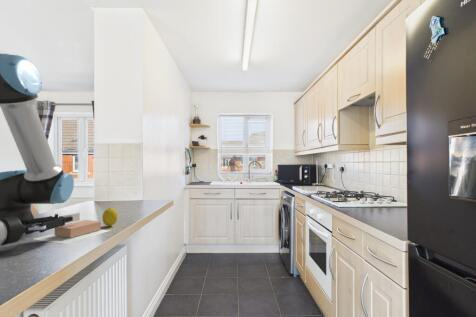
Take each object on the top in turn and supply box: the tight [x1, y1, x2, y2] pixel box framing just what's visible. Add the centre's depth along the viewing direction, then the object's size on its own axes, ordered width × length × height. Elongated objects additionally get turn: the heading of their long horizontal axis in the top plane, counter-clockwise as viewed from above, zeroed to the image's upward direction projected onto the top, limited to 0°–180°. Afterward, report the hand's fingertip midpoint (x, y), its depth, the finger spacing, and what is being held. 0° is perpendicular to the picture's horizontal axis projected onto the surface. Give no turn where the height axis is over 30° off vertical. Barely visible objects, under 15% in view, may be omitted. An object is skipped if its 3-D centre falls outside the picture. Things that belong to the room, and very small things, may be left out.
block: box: [53, 219, 102, 238], centre depth 93 cm, size 8×3×12 cm
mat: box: [33, 229, 112, 245], centre depth 91 cm, size 16×18×1 cm
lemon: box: [102, 207, 118, 228], centre depth 104 cm, size 6×6×8 cm
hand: (78, 216), depth 93 cm, fingers closed
